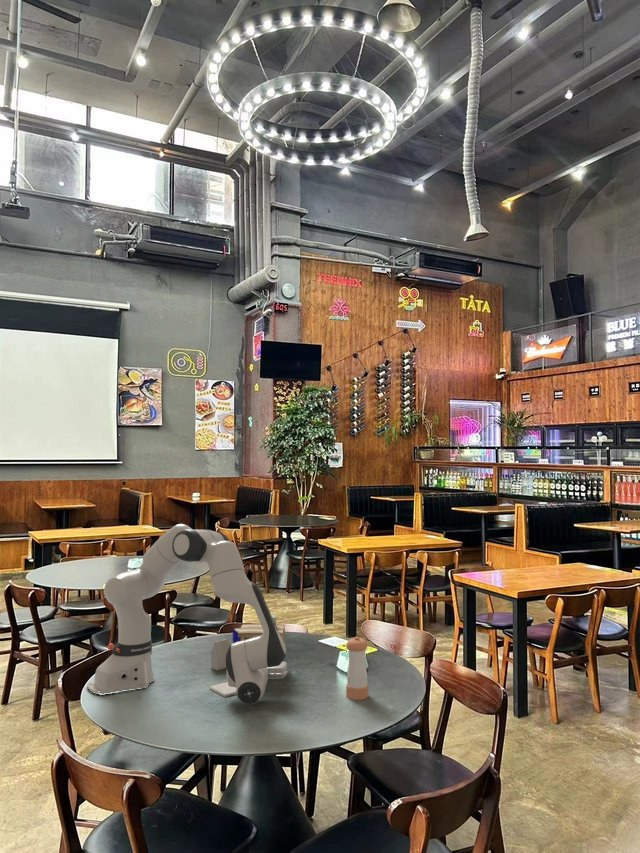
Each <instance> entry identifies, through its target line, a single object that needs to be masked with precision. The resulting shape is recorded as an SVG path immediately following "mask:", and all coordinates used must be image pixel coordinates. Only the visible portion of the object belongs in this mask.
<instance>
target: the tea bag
mask: <svg viewBox="0 0 640 853" xmlns="http://www.w3.org/2000/svg"><path fill="white" fill-rule="evenodd" d="M230 645H231V643H230V641H229V638H225V639H221V640H217V641H214V642H213V646H212V648H211V649H212V650H211V654H210V656H211V658H210V666H211V667H210V669H212V670H215V671H220V670H224V669H227V668H226V653H227V650H228V648H229V646H230Z"/></svg>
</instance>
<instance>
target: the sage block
mask: <svg viewBox="0 0 640 853" xmlns="http://www.w3.org/2000/svg"><path fill="white" fill-rule="evenodd" d="M271 616H272V618H273V621H274V623H275V626H276V624H277V614H271Z"/></svg>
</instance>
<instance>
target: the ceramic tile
mask: <svg viewBox="0 0 640 853" xmlns="http://www.w3.org/2000/svg"><path fill="white" fill-rule="evenodd" d="M209 690H211V691H212V692H215V693H216V694H218V695H220V696H222V697H224V698H226V697H230V696H233V695H237V693H236V687H230V686H228V681H226V682H221V683H219V684H218V683H217V684H214V685H210V686H209Z"/></svg>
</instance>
